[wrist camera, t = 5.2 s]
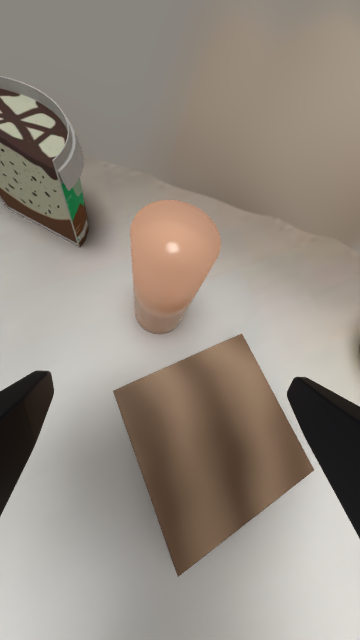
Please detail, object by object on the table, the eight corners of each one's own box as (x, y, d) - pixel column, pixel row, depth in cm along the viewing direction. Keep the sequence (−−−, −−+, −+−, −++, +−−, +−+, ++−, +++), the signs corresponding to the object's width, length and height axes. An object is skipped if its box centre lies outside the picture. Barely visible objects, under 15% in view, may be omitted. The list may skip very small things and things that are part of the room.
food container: (120, 219, 26) (109, 122, 17) (91, 253, 24) (60, 164, 14) (33, 171, 26) (-27, 48, 16) (-4, 201, 24) (-98, 78, 14)
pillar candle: (145, 341, 22) (151, 287, 10) (128, 298, 23) (116, 208, 12) (189, 323, 23) (235, 261, 12) (170, 284, 24) (197, 193, 13)
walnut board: (174, 560, 16) (177, 576, 15) (115, 390, 19) (113, 390, 18) (302, 464, 20) (314, 470, 19) (235, 337, 24) (241, 333, 22)
